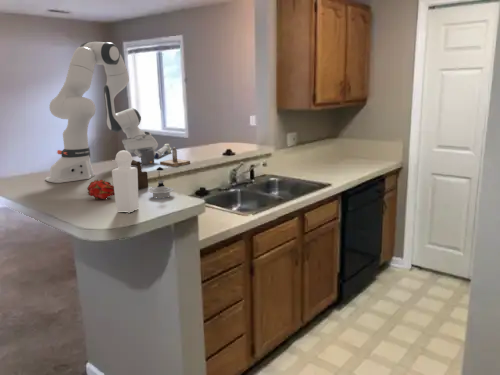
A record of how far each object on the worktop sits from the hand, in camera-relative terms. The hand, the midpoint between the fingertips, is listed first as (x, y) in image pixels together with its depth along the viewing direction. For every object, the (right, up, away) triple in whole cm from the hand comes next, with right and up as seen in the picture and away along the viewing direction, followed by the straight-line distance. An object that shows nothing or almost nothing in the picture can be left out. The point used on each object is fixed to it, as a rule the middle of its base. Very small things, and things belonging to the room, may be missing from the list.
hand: (147, 155), depth 246 cm
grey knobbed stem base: (+22, -22, -70) cm, 77 cm away
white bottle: (+14, -27, -90) cm, 95 cm away
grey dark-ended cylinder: (+2, +2, +32) cm, 32 cm away
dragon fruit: (-1, -23, -72) cm, 76 cm away
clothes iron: (+6, -18, -53) cm, 56 cm away
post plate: (+15, -4, +1) cm, 16 cm away
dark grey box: (0, -5, +1) cm, 5 cm away
